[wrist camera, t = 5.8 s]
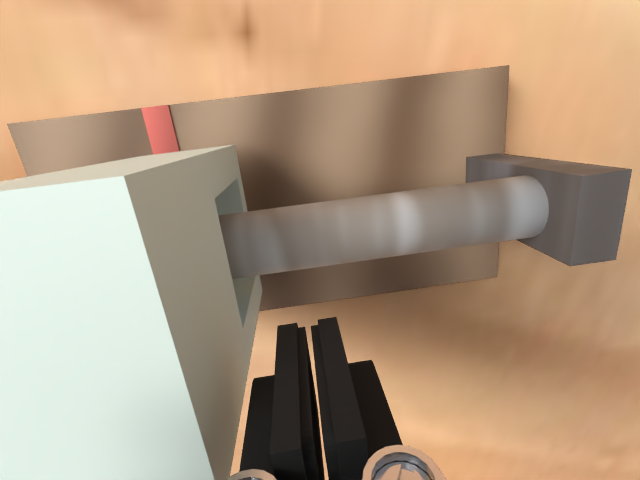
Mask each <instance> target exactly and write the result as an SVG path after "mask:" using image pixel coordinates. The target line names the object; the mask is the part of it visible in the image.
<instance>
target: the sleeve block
mask: <svg viewBox="0 0 640 480" xmlns="http://www.w3.org/2000/svg"><path fill="white" fill-rule="evenodd" d="M240 212H248V211H247V206H246V201H245V195H244V190H243V185H242V179H241V174H240V169H239V163H238V158H237V153H236V148H235V145H227V146H219V147H211V148H203V149H195V150H187V151H178V152H170V153H162V154H154V155H146V156H139V157H133V158H128V159H122V160H117V161H111V162H106V163H100V164H95V165H89V166H84V167H78V168H73V169H67V170H62V171H56V172H51V173H45V174H40V175H34V176H29V177H23V178H18V179H12V180H7V181H1V182H0V480H226V479H227V478H228V477H230V472H231V466H232V460H233V455H234V449H235V443H236V438H237V432H238V426H239V421H240V415H241V409H242V404H243V398H244V392H245V387H246V381H247V375H248V370H249V364H250V358H251V353H252V347H253V341H254V335H255V330H256V324H257V318H258V313H259V307H260V301H261V296H262V285H261V280H260V275H257V276H250V277H243V278H235V279H232V277H231V272H230V268H229V263H228V259H227V254H226V249H225V245H224V240H223V236H222V231H221V226H220V222H219V217H218V215H225V214H233V213H240Z"/></svg>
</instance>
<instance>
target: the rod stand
mask: <svg viewBox="0 0 640 480" xmlns="http://www.w3.org/2000/svg"><path fill="white" fill-rule="evenodd" d="M508 81H509V65H507V66H499V67H490V68H482V69H473V70H465V71H456V72H447V73H439V74H430V75H422V76H413V77H405V78H396V79H388V80H379V81H370V82H362V83H353V84H345V85H336V86H328V87H319V88H311V89H302V90H293V91H285V92H276V93H268V94H259V95H251V96H242V97H234V98H225V99H216V100H208V101H199V102H191V103H182V104H174V105H163V106H155V107H146V108H139V109H131V110H122V111H114V112H105V113H97V114H88V115H80V116H71V117H62V118H54V119H45V120H37V121H28V122H20V123H11V124H7V125H8V128H9V130H10V133H11V136H12V138H13V141H14V143H15V146H16V148H17V151H18V153H19V156H20V159H21V161H22V164H23V166H24V169H25V171H26V174H27V177H29V176H34V175H40V174H45V173H51V172H56V171H62V170H67V169H73V168H78V167H84V166H89V165H95V164H100V163H106V162H111V161H117V160H122V159H128V158H133V157H139V156H146V155H154V154H162V153H170V152H178V151H187V150H195V149H203V148H211V147H219V146H227V145H235V148H236V153H237V158H238V163H239V169H240V174H241V179H242V185H243V190H244V195H245V201H246V206H247V211H248V212H240V213H233V214H225V215H218V217H219V222H220V226H221V231H222V236H223V240H224V245H225V249H226V254H227V259H228V263H229V268H230V272H231V277H232V279H235V278H243V277H250V276H257V275H260V280H261V285H262V296H261V301H260V307H259V311H263V310H270V309H277V308H284V307H291V306H298V305H305V304H312V303H319V302H326V301H333V300H340V299H347V298H354V297H361V296H368V295H375V294H382V293H389V292H396V291H403V290H410V289H417V288H424V287H431V286H438V285H445V284H452V283H459V282H466V281H473V280H480V279H487V278H494V277H497V271H498V254H499V242H502V241H509V240H518V241H520V242H522V243H524V244H526V245H528V246H530V247H532V248H534V249H536V250H538V251H540V252H542V253H544V254H546V255H548V256H550V257H552V258H554V259H556V260H558V261H561V262H563V263H565V264H567V265H569V266H575V265H582V264H589V263H596V262H603V261H610V260H616V256H617V251H618V245H619V240H620V234H621V228H622V223H623V217H624V212H625V206H626V200H627V195H628V189H629V183H630V178H631V172H632V169H625V168H617V167H608V166H600V165H592V164H583V163H575V162H566V161H558V160H550V159H541V158H533V157H524V156H516V155H507V154H504V150H505V133H506V116H507V98H508Z"/></svg>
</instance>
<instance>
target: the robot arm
mask: <svg viewBox="0 0 640 480" xmlns="http://www.w3.org/2000/svg"><path fill="white" fill-rule="evenodd" d="M311 332H312V341H313V351H314V360H315V369H316V379H317V388H318V397H319V406H320V416H321V425H322V434H323V442H324V450H325V457H326V463H327V470H328V476H329V480H446V478H445V477H444V475H443V473H442V472H441V470H440V468H439V467H438V466H437V465H436V464H435V462H434V461H433V460H432V459H431V458H430V457H429V456H427V455H426V454H425V453H423V452H422V451H420V450H418V449H415V448H413V447H410V446H404V445H403V444H402V442H401V439H400V436H399V433H398V430H397V428H396V425H395V422H394V419H393V417H392V414H391V411H390V408H389V405H388V403H387V400H386V397H385V394H384V391H383V389H382V386H381V383H380V380H379V377H378V375H377V372H376V369H375V366H374V364H373V361H372V360H368V361H361V362H355V363H349V364H348V362H347V358H346V354H345V350H344V346H343V342H342V338H341V334H340V330H339V326H338V322H337V318H336V317H333V318H326V319H320V320H318V325H314V326H311ZM226 480H325V478H324V468H323V458H322V448H321V438H320V427H319V417H318V409H317V401H316V395H315V388H314V382H313V375H312V369H311V362H310V356H309V349H308V343H307V336H306V330H305V327H301V328H298V325H297V323H293V324H286V325H280V326H278V328H277V344H276V361H275V375H272V376H266V377H259V378H254V380H253V383H252V389H251V396H250V403H249V410H248V416H247V423H246V430H245V437H244V443H243V450H242V457H241V464H240V471H239V472H238V473H236V474H234V475H232V476H230V477H228V478H227V479H226Z"/></svg>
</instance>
